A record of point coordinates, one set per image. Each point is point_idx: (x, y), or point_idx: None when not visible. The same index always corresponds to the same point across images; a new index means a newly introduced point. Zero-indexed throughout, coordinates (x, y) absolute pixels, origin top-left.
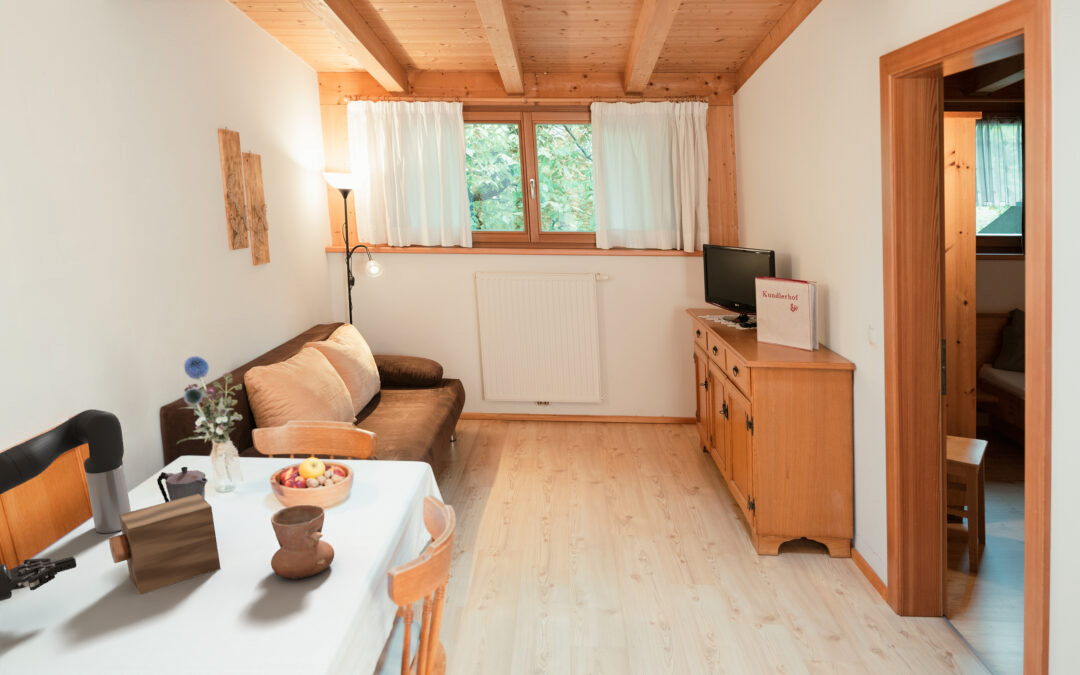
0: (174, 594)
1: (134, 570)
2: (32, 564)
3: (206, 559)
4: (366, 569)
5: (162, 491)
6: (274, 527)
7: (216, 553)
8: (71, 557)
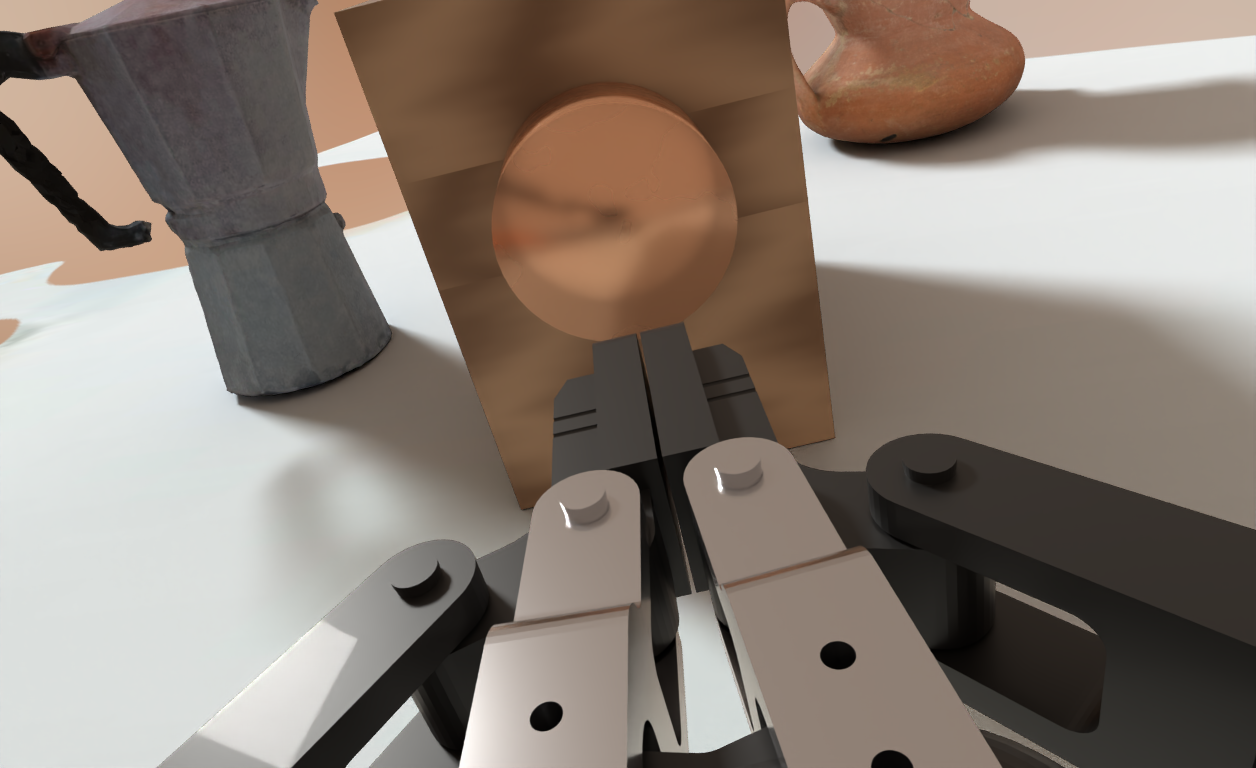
0: (926, 323)
1: (760, 312)
2: None
3: None
4: None
5: (37, 171)
6: None
7: None
8: (623, 343)
